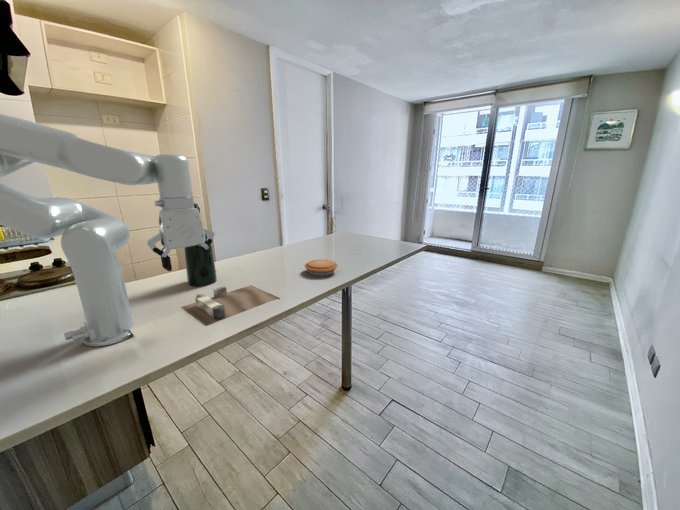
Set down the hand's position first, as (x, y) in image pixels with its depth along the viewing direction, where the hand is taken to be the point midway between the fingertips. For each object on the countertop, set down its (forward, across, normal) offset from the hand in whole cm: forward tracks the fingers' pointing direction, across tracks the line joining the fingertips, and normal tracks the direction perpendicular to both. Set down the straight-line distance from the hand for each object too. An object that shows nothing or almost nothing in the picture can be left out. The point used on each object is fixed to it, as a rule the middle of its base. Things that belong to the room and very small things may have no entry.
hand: (187, 265), depth 78 cm
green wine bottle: (+19, +16, +30) cm, 39 cm away
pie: (+19, +60, +5) cm, 63 cm away
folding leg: (+17, +6, +2) cm, 18 cm away
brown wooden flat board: (+19, +14, +3) cm, 23 cm away
